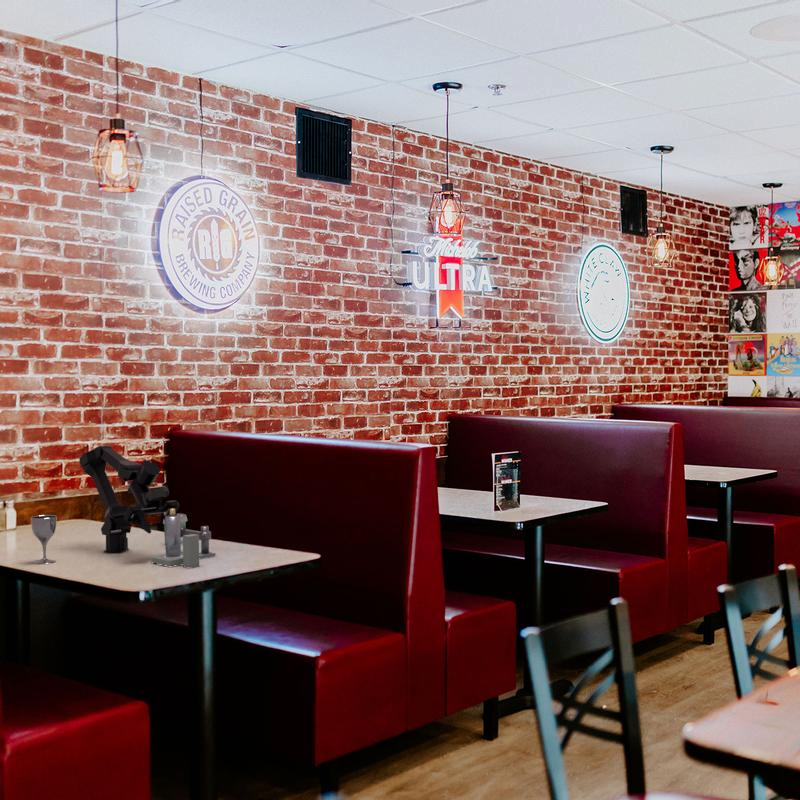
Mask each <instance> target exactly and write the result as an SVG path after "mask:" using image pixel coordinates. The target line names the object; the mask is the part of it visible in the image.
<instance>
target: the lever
mask: <svg viewBox="0 0 800 800" xmlns="http://www.w3.org/2000/svg"><path fill="white" fill-rule="evenodd" d="M209 527H210V526H208V525H203V526H200V531H199V530H193V529H187V528H186V526H185V527H180V537H183V535H190V534H196V535H199V541H200V549H201V550H200V553H209V552H210V540H211V539H212V531H211V530H210V528H209Z"/></svg>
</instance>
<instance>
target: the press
mask: <svg viewBox="0 0 800 800" xmlns="http://www.w3.org/2000/svg"><path fill="white" fill-rule="evenodd" d="M180 542H181V543H183V544H182V553H181V556H180V557H174V558H169V557H166V554H164V555H158V556H152V557H151V563H152V562H153V563H158V564H162V565H167V566H174V565H179V566H185V567H184V568H186V567H192V568H195V567H194V566H198V567H200V559H199V558H202V559H206V558H205V557H208V558H211V557H210V556H213V557H216V556H217V553H216V552H212V551H211V552H210V551H209V553H201V552H200V540H199V535H196V534H190V535H183V537H181V538H180ZM215 555H216V556H215ZM181 564H183V565H181ZM162 565H161V566H162ZM174 567H175V566H174Z"/></svg>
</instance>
